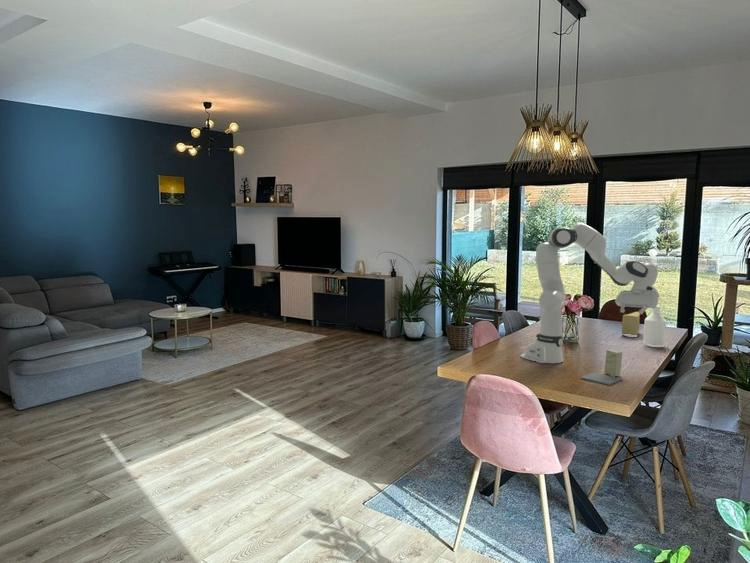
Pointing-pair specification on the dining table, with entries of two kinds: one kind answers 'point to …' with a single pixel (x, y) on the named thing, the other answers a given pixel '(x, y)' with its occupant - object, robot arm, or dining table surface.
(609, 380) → the mat
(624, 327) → the cheese
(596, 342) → the dining table surface
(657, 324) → the bottle
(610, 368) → the skincare box
